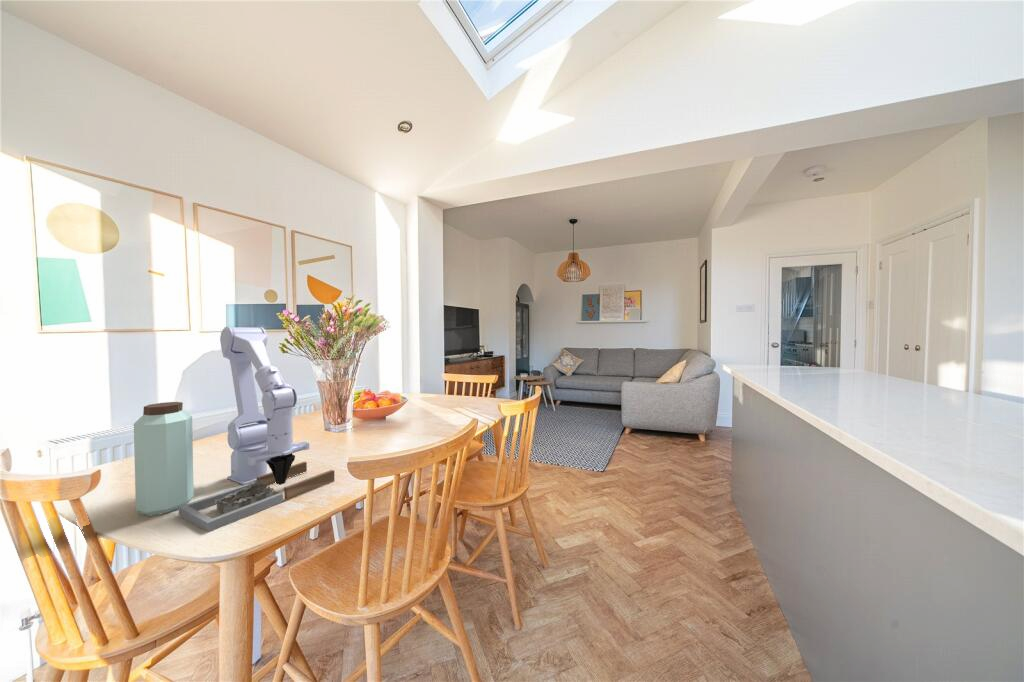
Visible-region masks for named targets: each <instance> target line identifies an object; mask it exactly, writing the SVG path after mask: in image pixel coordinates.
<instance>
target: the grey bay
mask: <svg viewBox="0 0 1024 682" xmlns="http://www.w3.org/2000/svg"><path fill="white" fill-rule="evenodd" d="M251 483H253V482H251ZM249 484H250V483H248V484H245V485H243V484H241V485H240V486H238V487H234V488H231V489H228V490H224V491H222V492H220V493H215V494H212V495H210V496H207V497H204V498H200V499H197V500H194V501H192V502H191V501H190V502H188V503H187V504H185V505H182V506H179V509H178V516H179V515H180V517H181V518H183V519H184V518H185V520H186V521H188V522H189V523H191V524H193V525H195V526H197V527H198V528H200V529H202V530H203V531H205V532H207V533H210V532H211V531H214V529H215V530H216V529H219V527H220V528H222V527H224V526H226V525H230V524H231V523H234V522H237V521H240V520H241V519H244V518H246V517H249V516H251V515H253V514H257V513H259V512H261V511H264V510H266V509H268V508H270V507H271V508H272V507H274V506H276V505H278V504H281V503H283V502H284V494H283V493H282V492H279V493H277V494H272V496H271V497H268V498H265V499H263V500H260V501H257V502H255V503H252V504H250V505H247V506H244V507H242V508H239V509H236V510H234V511H231V512H229V513H226V514H224V513H223V514H221V515H219V516H216V517H215V516H214V517H213V518H211V517H210V516H208V515H206V514H204V513H202V512H200V511H201V510H204V509H205V508H206V507H207V508H209V506H210V507H212V506H215V505H217V503H215V501H214V500H218V499H221V498H224V497H225V496H227V495H229V494H233V493H235V492H237V491H239V490H240V489H243V488H246V487H247V485H249ZM207 508H206V509H207Z"/></svg>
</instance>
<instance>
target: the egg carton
mask: <svg viewBox="0 0 1024 682" xmlns="http://www.w3.org/2000/svg"><path fill="white" fill-rule="evenodd" d="M273 491H275V488H273V487H270V486H266V485H265V483H263V482H261V481H260V480H258V481H254V482H253V483H250V484H249V485H247V487H246V488H243V489H240V490H239V491H237V492H235V493H233V494H229V495H227V496H225V497H224V498H221V499H218V500H214V501H215V503H217V504H216V512H217V513H221V512H222V511H223V514H226V513H229V512H231V511H234V510H236V509H239V508H242V507H244V506H247V505H250V504H252V503H255V502H257V501H260V500H263V499H265V498H268V497H271V496H273ZM253 495H254V496H253ZM251 496H252V497H251Z"/></svg>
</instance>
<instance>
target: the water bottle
mask: <svg viewBox="0 0 1024 682" xmlns="http://www.w3.org/2000/svg"><path fill="white" fill-rule="evenodd" d="M183 404H184V403H183V401H182V402H181V401H168V402H167V401H166V402H158V403H157V402H156V403H152V404H151V403H150V404H147V405H145V406H143V414H142V415H141V416H140V417H139V418H138V419H137V420H136V421H135V422H134V423H133V446H134V447H133V451H134V455H133V456H134V482H135V483H134V488H135V493H134V494H135V510H136V511H137V512H139V513H140V514H142V515H145V516H148V515H149V517H150V515H152V516H156V515H155V514H158V515H161V514H160V513H164V514H167V513H166V512H169V513H171V512H173V511H172V510H174V511H176V510H179V509H178V508H179V506H182V505H185V504H188V503H190V501H189V500H191V499H192V498H193V497H194V495H195V494H194V491H195V490H194V489H195V488H194V486H195V485H194V448H193V447H194V445H193V442H194V440H193V416H192V415H190V414H189V413H188V412H186V411H184V409H183ZM175 509H176V510H175ZM170 511H171V512H170Z"/></svg>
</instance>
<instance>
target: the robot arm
mask: <svg viewBox="0 0 1024 682" xmlns="http://www.w3.org/2000/svg"><path fill="white" fill-rule="evenodd" d="M219 337H220V338H219V341H220V347H221V353H222V356H223V358H226V359H228V360H229V363H230V364H229V365H230V370H231V376H232V382H233V388H234V396H235V402H236V409H237V412H238V413H237V414H238V415H237V416H236V417H235V418H234V419H232V420H231V422H229V423H228V426H227V444H228V446H229V447H230V449H232V452H231V454H230V475H228V476H227V477H226V478H227V479H228V480H230V481H234V482H236V483H238V484H240V485H245V484H248V483H251V482H254V481H257V477H258V476H262V475H265V474H268V473H271V472H273V475H274V477H275V481H276V483H275V484H277V485H279V486H281V485H283V484H286V482H287V479H286V478H287V474H288V471H289V469H290V467H291V466H292V465H293V463H294V461H295V459H296V455H294V453H297V452H301V451H308V450H310V442H308V441H302V442H297V443H296V442H295V443H293V440H294V439H293V437H294V436H293V432H294V431H293V429H294V428H293V408H294V407H295V406H296V405H297V401H298V396H297V391H296V389H295V388H294V387H293V386H291V385H290V384H289V383H286V381H285V380H284V379H285V378H284V377H283V376H282V373H281V370H280V369H279V368H278V367H277V366H274V365H272V363H271V362H272V361H271V360H270V358H269V354H268V352H267V351H268V350H267V349H266V346H267V343H268V333H267V331H266V330H265V328H264V327H262V326H259V327H258V326H257V327H238V326H237V327H235V326H234V327H233V326H232V327H231V326H225V327H224V328H223V329H222V330H221V331H220V336H219ZM253 367H254V368H255V370H256V372H255V373H254V371H253ZM255 380H256V383H257V385H258V387H259V390H260V392H261V393H262V397H261V405H262V406H261V407H262V408H263V412H261V411H260V406H259V402H258V396H257V389H256V383H255ZM268 467H269V469H270V470H271V471H268Z"/></svg>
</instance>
